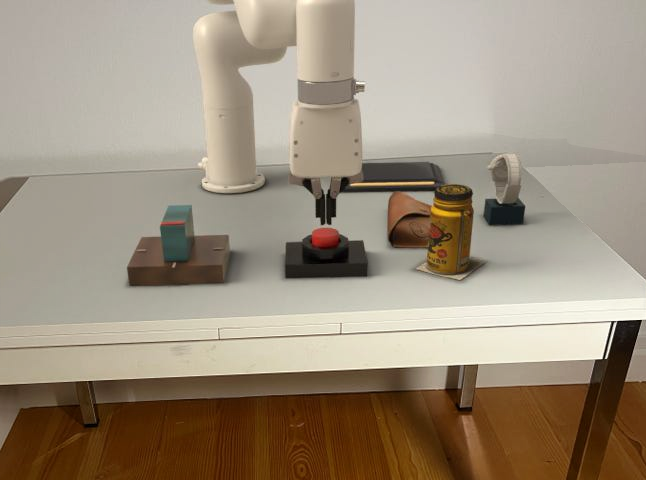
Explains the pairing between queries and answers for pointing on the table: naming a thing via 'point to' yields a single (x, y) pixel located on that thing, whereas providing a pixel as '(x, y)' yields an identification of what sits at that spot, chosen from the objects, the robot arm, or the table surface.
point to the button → (325, 237)
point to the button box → (325, 259)
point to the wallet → (398, 177)
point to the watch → (505, 191)
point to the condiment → (451, 233)
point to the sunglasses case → (408, 221)
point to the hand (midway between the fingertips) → (325, 221)
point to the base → (180, 263)
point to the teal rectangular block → (177, 233)
